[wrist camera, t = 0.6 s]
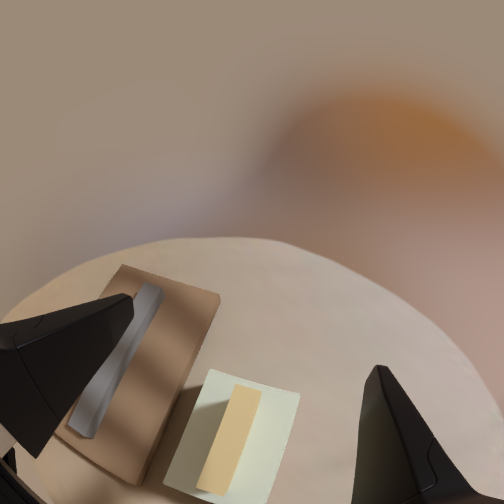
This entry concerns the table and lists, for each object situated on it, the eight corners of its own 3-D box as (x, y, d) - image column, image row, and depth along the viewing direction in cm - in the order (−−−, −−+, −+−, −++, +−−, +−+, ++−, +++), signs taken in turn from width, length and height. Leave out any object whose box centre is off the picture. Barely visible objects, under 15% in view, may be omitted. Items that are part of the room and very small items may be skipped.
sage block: (258, 506, 15) (263, 529, 9) (176, 479, 16) (143, 487, 10) (293, 404, 21) (312, 379, 15) (215, 382, 23) (202, 348, 17)
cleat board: (141, 485, 15) (127, 487, 13) (43, 418, 18) (25, 411, 15) (220, 302, 28) (217, 285, 26) (126, 272, 30) (118, 255, 28)
